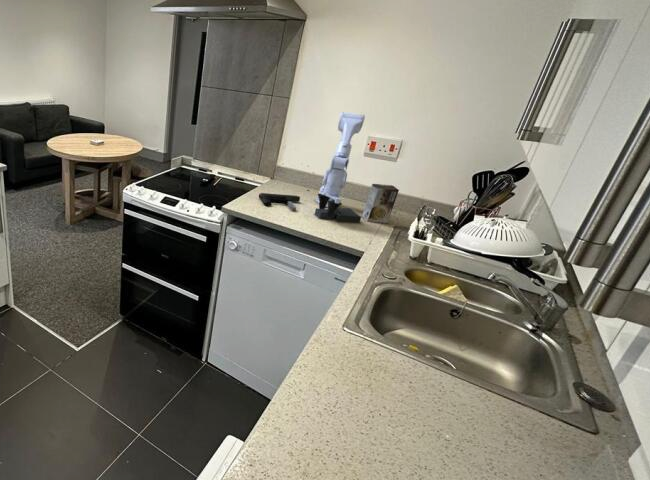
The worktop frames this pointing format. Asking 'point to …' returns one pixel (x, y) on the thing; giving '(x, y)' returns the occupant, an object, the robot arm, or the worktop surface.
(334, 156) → the robot arm
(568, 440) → the worktop surface
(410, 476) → the worktop surface
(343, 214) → the notch pad
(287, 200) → the door handle
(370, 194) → the coffee box
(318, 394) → the worktop surface
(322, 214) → the pad
